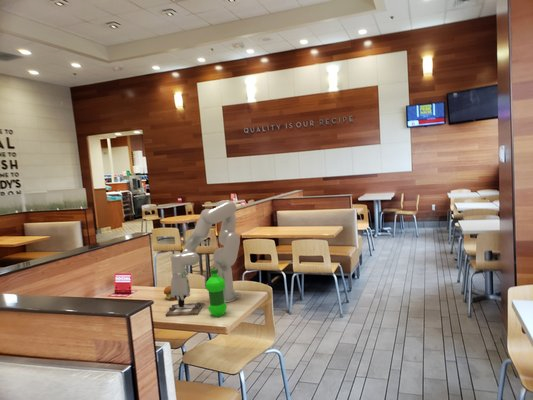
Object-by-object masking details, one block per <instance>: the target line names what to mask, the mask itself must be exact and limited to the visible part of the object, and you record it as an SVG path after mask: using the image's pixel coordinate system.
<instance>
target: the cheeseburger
mask: <svg viewBox="0 0 533 400" xmlns="http://www.w3.org/2000/svg"><path fill="white" fill-rule="evenodd" d="M163 294H164V295H165V296H166V299H167V300H168V301H174V300H177V299H176V298H175V297H171V284H170V285H169V286H166V287H165V288H164V289H163ZM180 297H182V295H180Z"/></svg>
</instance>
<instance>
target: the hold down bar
mask: <svg viewBox="0 0 533 400" xmlns="http://www.w3.org/2000/svg"><path fill="white" fill-rule="evenodd" d="M171 307H174V308H179V306H172V305H171ZM180 308H181V307H180ZM182 308H195V305H190V306H183V307H182Z"/></svg>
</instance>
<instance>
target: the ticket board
mask: <svg viewBox="0 0 533 400" xmlns="http://www.w3.org/2000/svg"><path fill="white" fill-rule="evenodd" d="M190 305H195V308H174V307H172V306H179V305H178V303H175V304H171V307H169V308H168V310H167V312H166V313H165V314H164V315H165V318H166V317H184V316H198V314H199V313H200V312H201V310H202V309H203V307H204V306H205V302H200V301H198V302H191V303H184V306H190Z"/></svg>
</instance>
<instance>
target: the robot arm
mask: <svg viewBox="0 0 533 400" xmlns="http://www.w3.org/2000/svg"><path fill="white" fill-rule="evenodd" d="M236 212H237V205H236V204H235V202H233V201H231V200H220V201H218V202H217V203H216V206H215V207H214V208H205V209H203V210H201V212H200V215H199V217H198V219H197V222H196V224H195V227H194V230H193V232H192V233H191V235H190V236H189V237H188V239H187V241H185V242H186V243H185V245H184V246H183V249H182V251H181V252H177V253H176V252H175V253H173V254H171V256H170V261H171V263H170V264H171V271H172V272H171V274H172V275H171V276H172V277H171V280H170V285H171V297H175V298H176V299H175V300H177V304H178V305H179V308H180V307H181V308H182V307H183V306H184V304H185V300H186V298H189V297H190V296H191V287H190V281H189V278H188V277H189V276H188V275H189V272H187V271H186V266H196V265H197V264H198V263H199V262H200V255H199V254H198V253H197V252H196V251H197V248H198V246H199V245H200V244H201V242H202V243H203V241H205V240H206V239H207V238H208V235H209V233H210V231H211V228H212V226H213V225H216V224H218V223H220V222H221V227H220V230H219V231H220V232H219V235H218V243H219V244H220V245H222V246H223V247H219V248H217V249H215V250H214V252H213V257H212V259H213V263H214V264H213V265H214V267H215V268H214V269H218V273H217V274H218V276H219V277H221V278H222V279H224V281H225V288H224V289H223V291H224V302H225V303H226V304H227V303H231V302H234V301H235V300H237V297H241V296H242V293H241V292H240V291H239V292H236V290H235V289H234V282H233V269H232V266H234V265H235V263H236V261H237V258H238V253H239V249H240V244H241V239H240V235H239V233H237V232H236V228H237V227H236V225H237V218H236V217H237V216H236ZM180 295H182V297H180Z"/></svg>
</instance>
